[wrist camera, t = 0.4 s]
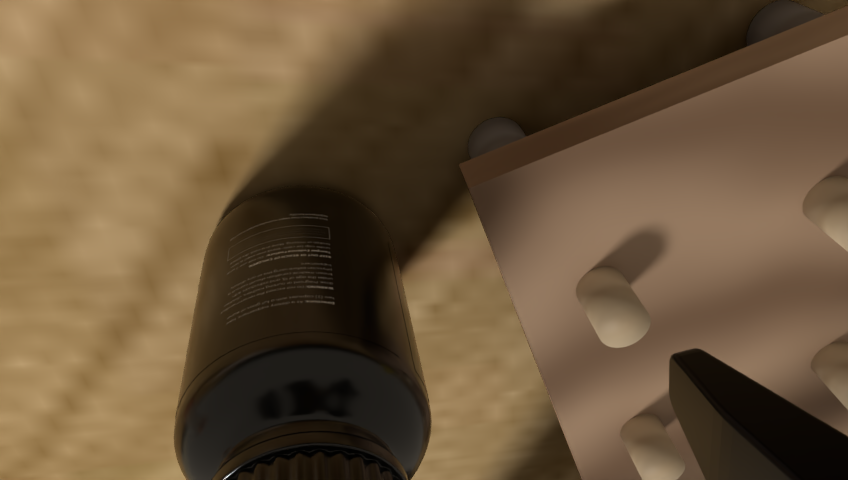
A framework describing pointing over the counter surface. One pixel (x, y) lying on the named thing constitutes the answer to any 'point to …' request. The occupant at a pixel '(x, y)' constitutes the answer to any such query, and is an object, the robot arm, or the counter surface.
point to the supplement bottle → (301, 348)
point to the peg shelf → (681, 240)
